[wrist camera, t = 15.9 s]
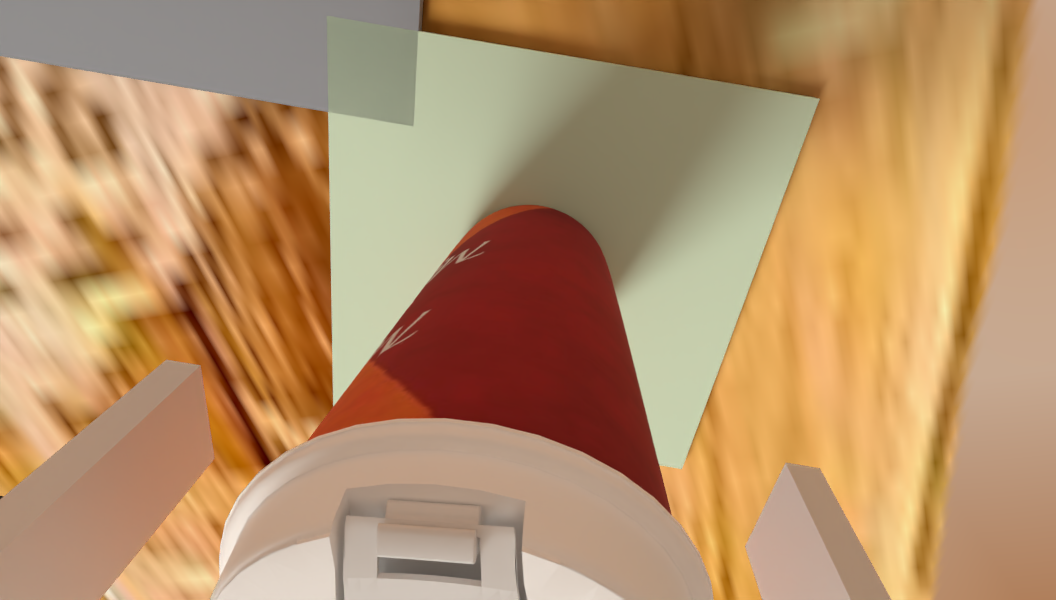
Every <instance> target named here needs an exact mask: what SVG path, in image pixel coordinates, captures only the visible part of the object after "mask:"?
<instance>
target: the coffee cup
mask: <svg viewBox="0 0 1056 600" xmlns="http://www.w3.org/2000/svg"><path fill="white" fill-rule="evenodd" d="M219 569H220V578H219V580H218V582H217V584H216V587H215V589H214V591H213V593H212V595H211V598H210V600H713V593H712V586H711V581H710V578H709V576H708V573H707V571H706V568H705V566H704V563H703V561H702V558H701V556H700V553H699V551H698V550H697V548H696V547H695V545H694V544H693V542H692V541H691V539H690V538H689V536H688V535H687V533H686V532H685V530H684V529H683V527H682V526H681V524H680V523H679V522H678V521H677V520H676V519H675V518H674V517H673V516H672V515H671V511H670V507H669V503H668V499H667V495H666V491H665V487H664V483H663V479H662V475H661V471H660V467H659V463H658V459H657V455H656V451H655V447H654V443H653V439H652V435H651V431H650V427H649V423H648V419H647V415H646V411H645V407H644V403H643V399H642V395H641V391H640V387H639V383H638V379H637V375H636V371H635V367H634V363H633V359H632V355H631V351H630V347H629V343H628V339H627V335H626V331H625V327H624V323H623V319H622V315H621V311H620V308H619V304H618V300H617V296H616V293H615V289H614V285H613V281H612V278H611V275H610V271H609V268H608V265H607V262H606V259H605V257H604V254H603V252H602V250H601V248H600V246H599V244H598V243H597V241H596V240H595V238H594V237H593V236H592V234H591V233H590V232H589V231H588V230H587V229H586V228H585V227H584V226H583V225H582V224H581V223H579V222H578V221H577V220H575V219H574V218H572V217H571V216H569V215H567V214H565V213H563V212H561V211H558V210H556V209H553V208H549V207H545V206H539V205H518V206H512V207H508V208H504V209H501V210H499V211H496V212H494V213H492V214H490V215H488V216H487V217H485V218H484V219H482V220H481V221H479V222H478V223H477V224H476V225H475V226H473V227H472V228H471V229H470V230H469V231H468V233H467V234H466V235H465V236H464V237H463V238H462V239H461V240H460V242H459V243H458V244H457V245H456V246H455V248H454V249H453V250H452V251H451V253H450V254H449V255H448V257H447V258H446V259H445V260H444V262H443V263H442V264H441V266H440V267H439V268H438V269H437V271H436V272H435V273H434V275H433V276H432V277H431V278H430V280H429V281H428V282H427V284H426V285H425V286H424V288H423V289H422V290H421V292H420V293H419V294H418V295H417V297H416V298H415V299H414V301H413V302H412V303H411V305H410V306H409V307H408V309H407V310H406V311H405V312H404V314H403V315H402V316H401V318H400V319H399V320H398V322H397V323H396V324H395V326H394V327H393V328H392V330H391V331H390V332H389V334H388V335H387V336H386V338H385V339H384V340H383V342H382V343H381V344H380V346H379V347H378V348H377V350H376V351H375V352H374V354H373V355H372V356H371V357H370V359H369V360H368V361H367V363H366V364H365V365H364V367H363V368H362V369H361V371H360V372H359V373H358V375H357V376H356V377H355V379H354V380H353V381H352V383H351V384H350V385H349V387H348V388H347V389H346V391H345V392H344V393H343V395H342V396H341V397H340V399H339V400H338V401H337V402H336V404H335V405H334V406H333V408H332V409H331V410H330V412H329V413H328V414H327V416H326V417H325V418H324V420H323V421H322V422H321V424H320V425H319V426H318V428H317V429H316V430H315V432H314V433H313V434H312V436H311V437H310V438H309V439H308V441H307V442H305V443H303V444H301V445H299V446H297V447H295V448H293V449H291V450H289V451H287V452H285V453H283V454H282V455H281V456H279V457H278V458H277V459H275V460H274V461H273V462H271V463H270V464H269V465H267V466H266V467H265V468H264V469H262V470H261V471H260V472H259V473H258V474H257V475H256V476H255V477H254V478H253V480H252V481H251V482H250V483H249V484H248V485H247V487H246V488H245V489H244V490H243V491H242V492H241V494H240V495H239V496H238V498H237V500H236V502H235V504H234V506H233V508H232V510H231V512H230V514H229V516H228V518H227V520H226V522H225V526H224V531H223V535H222V540H221V545H220V555H219Z"/></svg>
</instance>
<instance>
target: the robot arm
mask: <svg viewBox="0 0 1056 600" xmlns="http://www.w3.org/2000/svg"><path fill="white" fill-rule="evenodd" d="M213 460H214V452H213V446H212V439H211V432H210V425H209V419H208V412H207V405H206V399H205V392H204V385H203V378H202V372H201V365H195V364H189V363H183V362H177V361H171V360H166V361H164V362H163V363H162V364H161V365H160V366H158V367H157V368H156V369H155V370H154V371H152V372H151V373H150V374H149V375H148V376H146V377H145V378H144V379H143V380H142V381H141V382H139V383H138V384H137V385H136V386H135V387H133V388H132V389H131V390H130V391H129V392H127V393H126V394H125V395H124V396H123V397H122V398H120V399H119V400H118V401H117V402H116V403H114V404H113V405H112V406H111V407H110V408H108V409H107V410H106V411H105V412H104V413H103V414H101V415H100V416H99V417H98V418H97V419H95V420H94V421H93V422H92V423H91V424H89V425H88V426H87V427H86V428H85V429H83V430H82V431H81V432H80V433H79V434H78V435H76V436H75V437H74V438H73V439H72V440H70V441H69V442H68V443H67V444H66V445H64V446H63V447H62V448H61V449H60V450H59V451H57V452H56V453H55V454H54V455H53V456H51V457H50V458H49V459H48V460H47V461H45V462H44V463H43V464H42V465H41V466H40V467H38V468H37V469H36V470H35V471H34V472H32V473H31V474H30V475H29V476H28V477H26V478H25V479H24V480H23V481H22V482H20V483H19V484H18V485H17V486H16V487H15V488H13V489H12V490H11V491H10V492H9V493H7V494H6V495H5V496H4V497H3V496H0V600H100V599H101V597H102V596H103V595H104V594H105V592H106V591H107V590H108V589H109V587H110V586H111V585H112V584H113V583H114V581H115V580H116V579H117V578H118V576H119V575H120V574H121V573H122V571H123V570H124V569H125V568H126V567H127V565H128V564H129V563H130V562H131V560H132V559H133V558H134V557H135V556H136V554H137V553H138V552H139V551H140V549H141V548H142V547H143V546H144V544H145V543H146V542H147V541H148V540H149V538H150V537H151V536H152V535H153V533H154V532H155V531H156V530H157V528H158V527H159V526H160V525H161V524H162V522H163V521H164V520H165V519H166V517H167V516H168V515H169V514H170V513H171V511H172V510H173V509H174V508H175V506H176V505H177V504H178V503H179V501H180V500H181V499H182V498H183V497H184V495H185V494H186V493H187V492H188V490H189V489H190V488H191V487H192V485H193V484H194V483H195V482H196V481H197V479H198V478H199V477H200V476H201V474H202V473H203V472H204V471H205V470H206V468H207V467H208V466H209V465H210V463H211V462H212V461H213ZM745 548H746V551H747V554H748V557H749V560H750V563H751V566H752V569H753V573H754V576H755V579H756V582H757V585H758V588H759V591H760V594H761V597H762V600H891V598H890V596H889V595H888V593H887V591H886V589H885V587H884V585H883V584H882V582H881V580H880V578H879V576H878V574H877V573H876V571H875V569H874V567H873V565H872V563H871V562H870V560H869V558H868V556H867V554H866V552H865V551H864V549H863V547H862V545H861V543H860V541H859V540H858V538H857V536H856V534H855V532H854V530H853V529H852V527H851V525H850V523H849V521H848V519H847V518H846V516H845V514H844V512H843V510H842V508H841V507H840V505H839V503H838V501H837V499H836V497H835V496H834V494H833V492H832V490H831V488H830V486H829V484H828V483H827V481H826V479H825V477H824V475H823V473H822V472H821V470H820V468H814V467H808V466H802V465H796V464H790V463H785V465H784V467H783V469H782V471H781V473H780V475H779V478H778V480H777V482H776V484H775V486H774V488H773V490H772V492H771V494H770V496H769V498H768V500H767V502H766V504H765V506H764V509H763V511H762V513H761V515H760V517H759V519H758V521H757V523H756V525H755V527H754V529H753V531H752V533H751V535H750V537H749V539H748V542H747V544H746V546H745Z"/></svg>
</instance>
